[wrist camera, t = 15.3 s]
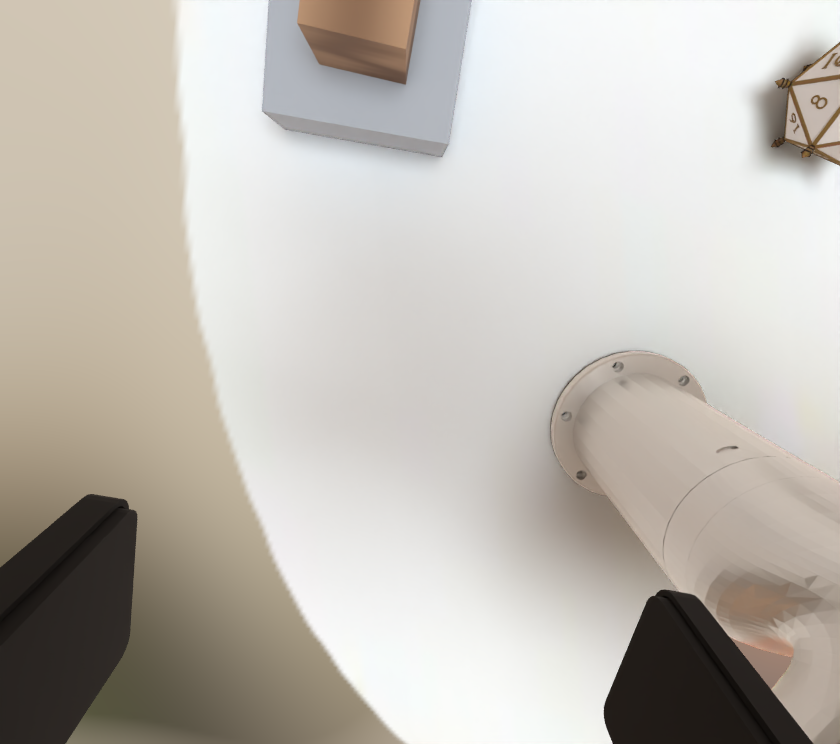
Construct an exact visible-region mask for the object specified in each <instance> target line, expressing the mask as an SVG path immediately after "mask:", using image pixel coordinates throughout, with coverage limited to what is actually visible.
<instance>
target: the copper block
mask: <svg viewBox="0 0 840 744" xmlns="http://www.w3.org/2000/svg"><path fill="white" fill-rule="evenodd" d="M420 1H421V0H300V1H299V10H298V19H297V24H298V26H299V27H300V29H301V31H302V33H303V35H304V37H305V39H306V40H307V42H308V44H309V46H310V48H311V50H312V52H313V53H314V55H315V57H316V59H317V61H318V63H319V64H320V65H324V66H328V67H333V68H337V69H341V70H345V71H349V72H354V73H358V74H362V75H366V76H371V77H375V78H379V79H383V80H388V81H392V82H396V83H400V84H405V85H406V81H407V75H408V70H409V64H410V58H411V52H412V47H413V41H414V35H415V29H416V24H417V18H418V12H419V6H420Z"/></svg>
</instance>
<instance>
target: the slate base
mask: <svg viewBox="0 0 840 744" xmlns="http://www.w3.org/2000/svg"><path fill="white" fill-rule="evenodd" d="M299 1H300V0H269V6H268V22H267V38H266V55H265V71H264V88H263V104H262V111H263V112H264V113H265V114H266V115H268V116H269V117H270V118H271V119H273V120H274V121H275V122H276V123H278V124H279V125H280V126H281V127H283V128H284V129H286V130H291V131H297V132H303V133H308V134H314V135H320V136H325V137H331V138H337V139H343V140H348V141H354V142H360V143H365V144H371V145H377V146H383V147H388V148H394V149H400V150H405V151H411V152H417V153H422V154H428V155H434V156H440V157H442V155H443V154H444V152H445V150H446V148H447V146H448V144H449V139H450V132H451V126H452V120H453V114H454V107H455V101H456V95H457V89H458V82H459V76H460V70H461V64H462V57H463V51H464V45H465V39H466V32H467V26H468V20H469V13H470V7H471V1H472V0H421V1H420V6H419V12H418V18H417V24H416V29H415V35H414V41H413V47H412V52H411V58H410V64H409V70H408V75H407V81H406V85H405V84H400V83H396V82H392V81H388V80H383V79H379V78H375V77H371V76H366V75H362V74H358V73H354V72H349V71H345V70H341V69H337V68H333V67H328V66H324V65H320V64H319V63H318V61H317V59H316V57H315V55H314V53H313V52H312V50H311V48H310V46H309V44H308V42H307V40H306V39H305V37H304V35H303V33H302V31H301V29H300V27H299V26H298V24H297V19H298V10H299Z"/></svg>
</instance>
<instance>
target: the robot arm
mask: <svg viewBox="0 0 840 744" xmlns="http://www.w3.org/2000/svg"><path fill="white" fill-rule="evenodd" d="M614 363H616V366H614V367H613V365H614ZM679 378H680V379H679ZM564 412H566V413H565V414H564V415H562V414H563V413H564ZM551 441H552V445H553V449H554V452H555V455H556V457H557V459H558V461H559V462H560V464H561V466H562V467H563V469H564V470H565V471H566V473H567V474H568V475H569V476H570V477H571V478H572V479H573V481H575V482H576V483H577V484H579V485H580V486H582V487H583V488H585V489H587V490H589V491H591V492H594V493H597V494H599V495H604V496H608V498H609V499H610V500H611V502H612V503H613V504H614V506H615V507H616V509H617V510H618V511H619V513H620V514H621V515H622V517H623V518H624V519H625V521H626V522H627V523H628V525H629V526H630V527H631V529H632V530H633V531H634V533H635V534H636V535H637V537H638V538H639V539H640V541H641V542H642V543H643V545H644V546H645V547H646V549H647V550H648V551H649V553H650V554H651V555H652V557H653V558H654V559H655V561H656V562H657V563H658V565H659V566H660V567H661V569H662V570H663V571H664V573H665V574H666V575H667V577H668V578H669V579H670V581H671V582H672V583H673V585H674V586H675V587H676V588H677V590H678V591H679V592H676V591H670V590H660V591H659V592H658V593H657V594H656V595H655V596H651V597H650V598H649V599H648V601H647V602H646V605H645V607H644V610H643V612H642V615H641V617H640V619H639V622H638V624H637V627H636V629H635V631H634V634H633V636H632V639H631V641H630V643H629V646H628V648H627V651H626V653H625V656H624V658H623V660H622V663H621V665H620V668H619V670H618V672H617V675H616V677H615V680H614V682H613V684H612V687H611V689H610V692H609V694H608V697H607V699H606V701H605V705H604V719H605V724H606V727H607V730H608V732H609V735H610V737H611V740H612V742H613V744H840V482H839V481H837V480H835V479H834V478H832V477H830V476H829V475H827V474H825V473H824V472H822V471H820V470H818V469H817V468H815V467H813V466H811V465H810V464H808V463H806V462H804V461H803V460H801V459H799V458H797V457H796V456H794V455H792V454H791V453H789V452H787V451H786V450H784V449H782V448H781V447H779V446H777V445H775V444H774V443H772V442H770V441H769V440H767V439H765V438H764V437H762V436H760V435H759V434H757V433H755V432H753V431H752V430H750V429H748V428H747V427H745V426H743V425H742V424H740V423H738V422H737V421H735V420H733V419H731V418H730V417H728V416H726V415H725V414H723V413H721V412H720V411H718V410H716V409H715V408H713V407H711V406H709V405H708V404H707V402H706V398H705V395H704V393H703V390H702V388H701V386H700V384H699V383H698V382H697V380H696V379H695V377H694V376H693V375H692V374H691V373H690V372H689V371H688V370H687V369H686V368H684V367H683V366H682V365H680V364H678V363H676V362H675V361H673V360H671V359H669V358H667V357H664V356H662V355H660V354H655V353H650V352H646V351H628V352H622V353H617V354H613V355H610V356H608V357H605V358H602V359H600V360H598V361H596V362H594V363H593V364H591V365H589V366H587V367H586V368H585V369H584V370H582V371H581V372H580V373H579V374H578V375H576V376H575V377H574V378H573V380H572V381H571V382H570V383H569V384H568V385H567V387H566V388H565V389H564V391H563V393H562V394H561V396H560V398H559V399H558V401H557V404H556V407H555V410H554V412H553V417H552V423H551ZM578 471H579V472H578ZM136 528H137V513H136V511H134V510H130V509H129V506H128V503H127V501H126V500H124V499H118V498H112V497H106V496H100V495H94V494H90V495H87V496H85V497H84V498H82V499H81V500H80V501H79V502H77V503H76V504H75V505H74V506H73V507H71V508H70V509H69V510H68V511H67V512H66V513H64V514H63V515H62V516H61V517H60V518H58V519H57V520H56V521H55V522H54V523H53V524H51V525H50V526H49V527H48V528H47V529H45V530H44V531H43V532H42V533H41V534H40V535H38V536H37V537H36V538H35V539H34V540H32V542H30V543H29V544H28V545H27V546H25V547H24V548H23V549H22V550H21V551H19V552H18V553H17V554H16V555H15V556H13V557H12V558H11V559H10V560H9V561H8V562H6V563H5V564H4V565H3V566H2V567H0V744H65V743H66V742H67V740H68V739H69V737H70V736H71V734H72V733H73V731H74V730H75V728H76V727H77V725H78V724H79V722H80V720H81V719H82V717H83V716H84V714H85V713H86V711H87V710H88V708H89V707H90V705H91V704H92V702H93V701H94V699H95V698H96V696H97V695H98V693H99V691H100V690H101V688H102V687H103V685H104V684H105V682H106V681H107V679H108V678H109V676H110V675H111V673H112V672H113V670H114V669H115V667H116V666H117V664H118V663H119V661H120V659H121V658H122V656H123V654H124V652H125V650H126V647H127V644H128V641H129V636H130V625H131V609H132V594H133V578H134V577H133V576H134V561H135V546H136V531H137V529H136ZM730 637H731V638H733V639H735V640H737V641H739V642H742V643H744V644H747V645H750V646H752V647H755V648H758V649H761V650H765V651H768V652H772V653H776V654H780V655H784V656H789V657H793V658H792V660H791V662H790V665H789V667H788V669H787V670H786V671H785V673H784V674H783V675H782V676H781V678H780V679H779V681H778V682H777V683H776V684H775V686H774V687H773V688H772V689H770V688H769V687H768V685H767V684H766V683H765V682H764V680H763V679H762V678H761V677H760V675H759V674H758V673H757V671H756V670H755V669H754V668H753V666H752V665H751V664H750V662H749V661H748V660H747V659H746V658H745V656H744V655H743V654H742V652H741V651H740V650H739V649H738V647H737V646H736V645H735V643H734V642H733V641H732V640H731V639H730Z"/></svg>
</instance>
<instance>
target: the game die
mask: <svg viewBox="0 0 840 744" xmlns="http://www.w3.org/2000/svg"><path fill="white" fill-rule="evenodd" d="M775 82H776V84H777V85H778V88H780V87H781V88H782V89H783V88H788V94H787V106H786V118H785V131H784V137H783V138H778V139H777V140H775V141H774V143H773V145H772V146H771V147H779V146H780V145H782V144H784V142H785V141H786V142H788V143H791V144H793V145H795V146H797V147H799V148H802V149H804V151H802V152H801V153H802V158H804V157H810V156H811V154H815V155H817V156H819V157H822V158H824V159H826V160H828V161H830V162H833V163H835V164H837V165H839V166H840V42H839V43H838V44H837V45H836V46H834V47H833V48H832V49H831V50H829V51H828V52H827V53H826V54H824V55H823V56H822V57H821V58H819V59H818V60H817V61H816V62H815V63H813V64H810V65H807V66H804V71H803V72H802V73H801V74H800V75H799V76H797V77H796V78H795V79H794V80H792V81H791V82H790V81H789V80H788V79H786V80H785V78H782V79H781V80H777V81H775Z"/></svg>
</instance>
